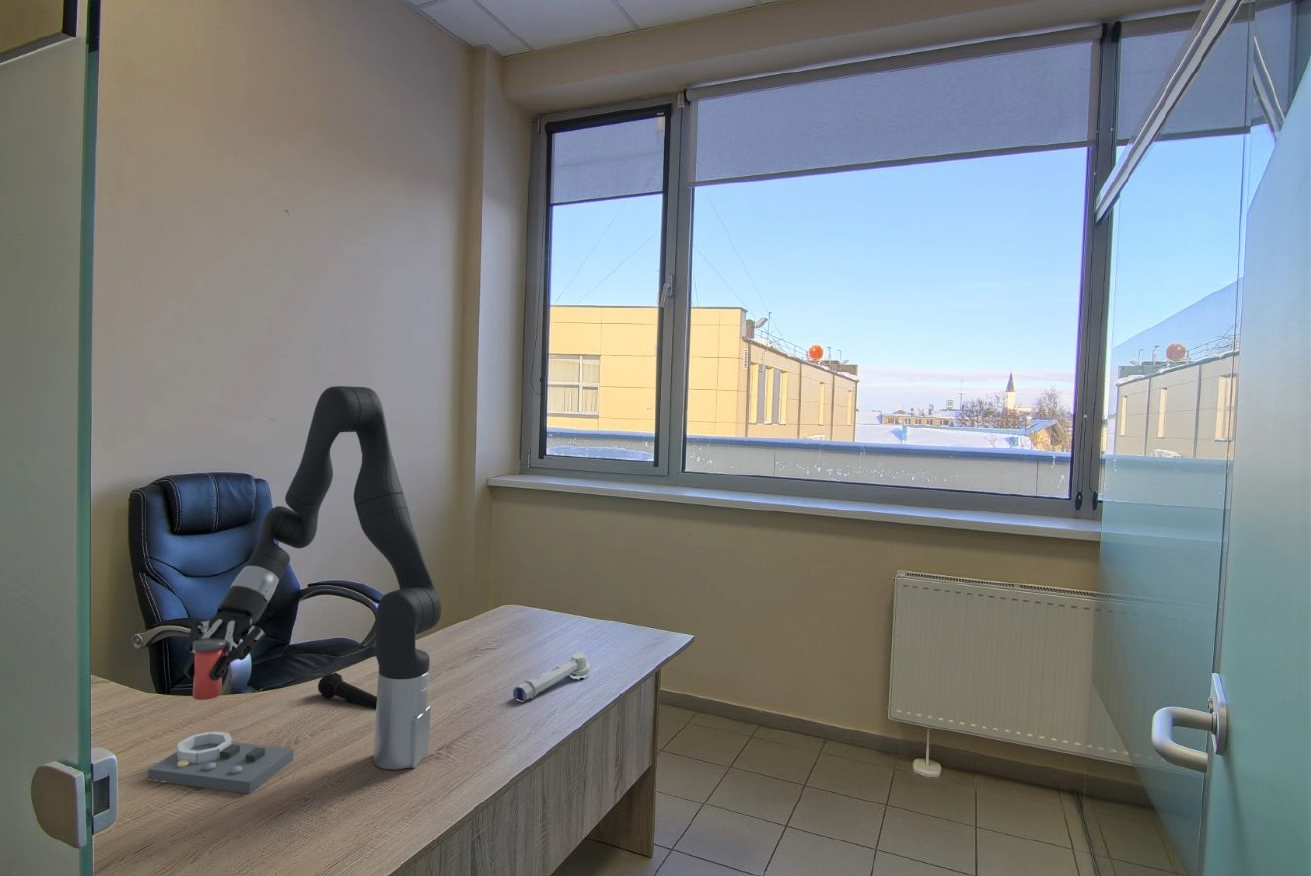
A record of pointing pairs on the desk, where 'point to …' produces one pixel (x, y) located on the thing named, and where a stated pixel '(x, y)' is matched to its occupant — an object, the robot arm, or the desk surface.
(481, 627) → the desk surface
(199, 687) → the cap
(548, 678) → the toothbrush head
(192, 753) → the grey control panel
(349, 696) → the microphone
